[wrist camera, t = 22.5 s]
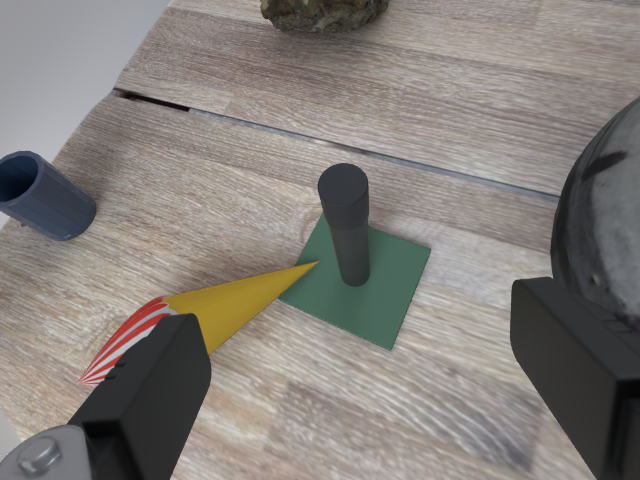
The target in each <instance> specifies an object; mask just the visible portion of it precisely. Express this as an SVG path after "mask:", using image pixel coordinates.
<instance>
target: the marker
mask: <svg viewBox="0 0 640 480" xmlns="http://www.w3.org/2000/svg"><path fill="white" fill-rule="evenodd" d="M318 192H319V196H320V200H321V204H322V208H323V212H324V216H325V219H326V221H327V222H328V225H329V229H330V233H331V237H332V241H333V245H334V249H335V253H336V257H337V261H338V265H339V269H340V273H341V277H342V280H343V281H344V282H345V283H346V284H347V285H349V286H352V287H359V286H362V285H363V284H365V283H366V282H367V281H368V279H369V276H370V264H369V239H368V215H369V191H368V179H367V176H366V174H365V173H364V172H363V171H362V170H361V169H360V168H359V167H357V166H355V165H353V164H348V163H340V164H336V165H333V166H331V167H329V168H328V169H326V170H325V171H324V172H323V173H322V175H321V176H320V178H319V181H318Z"/></svg>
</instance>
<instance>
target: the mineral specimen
mask: <svg viewBox="0 0 640 480" xmlns="http://www.w3.org/2000/svg"><path fill="white" fill-rule="evenodd" d="M260 1H261V2H262V4H261V13H262V15H263V17H264V18H265V19H269V20H270V21H271V22H272V24H273V25H274V27H275V28H276V29H280V30H281V31H282V32H285V31H289V30H291V29H293V28H300V29H303V30H305V31H307V32H310V33H315V34H316V35H317V36H318V35H323V34H325V33H326V32H332V33H335V32H347V33H349V32H350V31H351V30H354V29H355V28H358V29H359V27H360V26H361V25H362V24H364V23H370V22H373V21H374V19H375V16H376V15H377V14H379V13H381V12H383V11H385V10H386V8H387V6H388V1H389V0H260Z"/></svg>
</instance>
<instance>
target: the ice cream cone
mask: <svg viewBox="0 0 640 480" xmlns="http://www.w3.org/2000/svg"><path fill="white" fill-rule="evenodd" d="M318 262H319V261H317V262H313V263H309V264H305V265H300V266H296V267H292V268H288V269H284V270H279V271H275V272H271V273H267V274H262V275H258V276H254V277H250V278H246V279H241V280H237V281H233V282H229V283H225V284H220V285H216V286H212V287H208V288H203V289H199V290H195V291H191V292H187V293H182V294H178V295H174V296H161V297H158V298H155V299H154V300H152V301H150V302H148V303H147V304H145V305H144V306H143V307H141V308H140V309H139V310H137V311H136V312H135V313H134V314H133V315H132V316H130V317H129V318H128V319H127V321H126V322H125V323H124V324H123V325H122V326H121V327H120V328H119V329H118V330H117V331H116V332H115V334H114V335H113V336H112V337H111V338H110V339H109V340H108V342H107V343H106V344H105V345H104V347H103V348H102V349H101V350H100V352H99V353H98V354H97V355H96V356H95V358H94V359H93V361H92V362H91V364H90V365H89V367H88V368H87V370H86V371H85V373H84V374H83V376H82V377H81V378H80V380H79V381H78V383H77V384H81V385H93V386H98V384H99V383H100V382H101V381H104V377H105V376H106V375H107V373H108V372H109V371H110V370H111V368H114V365H115V363H116V362H117V361H118V360H119V358H120V357H121V356H122V355H123V353H124V352H125V351H126V350H127V349H128V348H130V347H131V346H132V345H134V344H135V343H136V342H138V341H139V340H140V339H142V338H143V337H147V336H148V334H149V333H150V332H151V331H152V329H153V328H154V327H155V325H156V324H157V323H158V321H159V320H160V319H161V318H162V317H163V316H167V315H177V314H186V313H194V314H195V315H196V316H197V318H198V321H199V324H200V328H201V331H202V335H203V338H204V342H205V345H206V349H207V352H208V355H210V354H211V353H212V352H213V351H214V350H216V349H217V348H218V347H219V346H220V345H221V344H223V343H224V342H225V341H226V340H227V339H229V338H230V337H231V336H232V335H233V334H234V333H236V332H237V331H238V330H239V329H240V328H241V327H243V326H244V325H245V324H246V323H247V322H248V321H250V320H251V319H252V318H253V317H254V316H256V315H257V314H258V313H259V312H260V311H261V310H263V309H264V308H265V307H266V306H267V305H268V304H270V303H271V302H272V301H273V300H274V299H276V298H277V297H278V296H279V295H280V294H281V293H283V292H284V291H285V290H286V289H287V288H288V287H290V286H291V285H292V284H293V283H294V282H296V281H297V280H298V279H299V278H300V277H301V276H303V275H304V274H305V273H306V272H307V271H308V270H310V269H311V268H312V267H313V266H314V265H316V264H317V263H318Z"/></svg>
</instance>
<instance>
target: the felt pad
mask: <svg viewBox="0 0 640 480" xmlns="http://www.w3.org/2000/svg"><path fill="white" fill-rule="evenodd" d="M368 239H369V264H370V276H369V279H368V281H367V282H366V283H365V284H363V285H362V286H359V287H352V286H349V285H347V284H346V283H345V282H344V281H343V280H342V277H341V273H340V269H339V265H338V261H337V257H336V253H335V249H334V245H333V241H332V237H331V233H330V229H329V225H328V222H327V221H326V219H325V216H324V212H323V213H322V215H321V217H320V219H319V221H318V223H317V225H316V227H315V228H314V230H313V232H312V234H311V236H310V238H309V240H308V242H307V244H306V246H305V248H304V250H303V251H302V253H301V255H300V257H299V259H298V261H297V263H296V265H295V267H296V266H300V265H305V264H309V263H313V262H317V261H319V262H318V263H317V264H316V265H314V266H313V267H312V268H311V269H310V270H308V271H307V272H306V273H305V274H304V275H303V276H301V277H300V278H299V279H298V280H297V281H296V282H294V283H293V284H292V285H291V286H290V287H288V288H287V289H286V290H285V291H284V292H283V293H281V294H280V296H279V297H278V299H279V300H280V301H282V302H284V303H286V304H289V305H291V306H293V307H295V308H297V309H300V310H302V311H304V312H306V313H308V314H311V315H313V316H315V317H317V318H319V319H322V320H324V321H326V322H328V323H330V324H332V325H335V326H337V327H339V328H341V329H343V330H346V331H348V332H350V333H352V334H354V335H357V336H359V337H361V338H363V339H365V340H368V341H370V342H372V343H374V344H376V345H378V346H381V347H383V348H385V349H387V350H389V351H391V349H392V347H393V344H394V342H395V339H396V337H397V334H398V332H399V329H400V327H401V324H402V322H403V319H404V317H405V314H406V312H407V309H408V307H409V304H410V302H411V299H412V297H413V294H414V292H415V289H416V287H417V284H418V282H419V279H420V277H421V274H422V272H423V269H424V267H425V264H426V262H427V259H428V257H429V254H430V252H431V249H428V248H426V247H423V246H420V245H417V244H415V243H412V242H409V241H407V240H404V239H401V238H398V237H396V236H393V235H390V234H388V233H385V232H382V231H379V230H377V229H374V228H371V227H368Z"/></svg>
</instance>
